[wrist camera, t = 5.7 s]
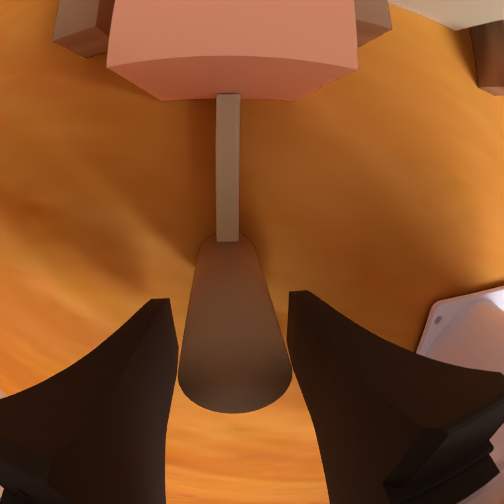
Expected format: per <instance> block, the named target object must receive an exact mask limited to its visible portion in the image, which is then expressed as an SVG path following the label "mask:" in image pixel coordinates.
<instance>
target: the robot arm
mask: <svg viewBox="0 0 504 504" xmlns="http://www.w3.org/2000/svg"><path fill="white" fill-rule="evenodd" d="M287 345H288V350H289V355H290V359H291V363H292V367H293V370H294V372H295V375H296V378H297V381H298V383H299V386H300V389H301V391H302V394H303V397H304V399H305V402H306V405H307V407H308V410H309V413H310V415H311V418H312V422H313V425H314V428H315V432H316V436H317V441H318V445H319V449H320V454H321V458H322V463H323V468H324V473H325V478H326V483H327V489H328V495H329V501H330V504H504V286H500V287H496V288H492V289H488V290H484V291H480V292H476V293H472V294H467V295H463V296H458V297H454V298H449V299H444V300H440V301H437V302H436V303H434V305H433V306H432V308H431V310H430V313H429V316H428V320H427V323H426V326H425V329H424V332H423V334H422V337H421V340H420V343H419V346H418V348H417V351H416V353H414V352H411V351H409V350H406V349H404V348H401V347H399V346H397V345H395V344H393V343H391V342H389V341H386V340H384V339H382V338H380V337H378V336H377V335H375V334H373V333H371V332H369V331H368V330H366V329H364V328H363V327H361V326H359V325H358V324H356V323H354V322H353V321H351V320H350V319H348V318H347V317H345V316H344V315H342V314H341V313H339V312H338V311H336V310H335V309H334V308H332V307H331V306H329V305H328V304H327V303H325V302H324V301H322V300H321V299H320V298H318V297H317V296H315V295H314V294H313V293H311V292H310V291H308V290H303V291H291V292H289V308H288V325H287ZM178 349H179V346H178V342H177V337H176V332H175V327H174V321H173V316H172V311H171V305H170V299H169V298H162V299H151V300H149V301H148V302H147V303H146V304H145V305H144V306H143V307H142V308H141V309H139V310H138V311H137V312H136V313H135V314H134V315H133V316H132V317H131V318H130V319H129V320H128V321H127V322H126V323H124V324H123V325H122V326H121V327H120V328H119V329H118V330H117V331H116V332H114V333H113V334H112V335H111V336H110V337H108V338H107V339H106V340H105V341H104V342H102V343H101V344H100V345H99V346H98V347H97V348H95V349H94V350H93V351H91V352H90V353H89V354H87V355H86V356H84V357H83V358H82V359H80V360H79V361H77V362H76V363H74V364H73V365H71V366H70V367H68V368H66V369H65V370H63V371H61V372H59V373H57V374H56V375H54V376H52V377H50V378H49V379H47V380H45V381H43V382H41V383H39V384H37V385H35V386H33V387H30V388H28V389H26V390H23V391H21V392H19V393H16V394H14V395H11V396H8V397H5V398H2V399H0V485H1V486H2V487H3V488H4V490H3V493H2V497H1V498H0V504H166V496H165V443H166V431H167V423H168V418H169V412H170V407H171V401H172V396H173V391H174V385H175V380H176V375H177V365H178Z"/></svg>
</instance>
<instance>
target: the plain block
mask: <svg viewBox="0 0 504 504" xmlns="http://www.w3.org/2000/svg"><path fill="white" fill-rule="evenodd" d="M387 1H388V3H389V4H392V5H395V6H398V7H400V8H403V9H406V10H409V11H411V12H414V13H416V14H419V15H421V16H424V17H426V18H428V19H431V20H433V21H435V22H437V23H439V24H442V25H444V26H446V27H448V28H450V29H452V30H454V31H458V30H461V29H465V28H469V27H472V26H476V25H480V24H485V23H489V22H494V21H498V20H503V19H504V0H387Z"/></svg>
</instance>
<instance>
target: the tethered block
mask: <svg viewBox="0 0 504 504" xmlns="http://www.w3.org/2000/svg"><path fill="white" fill-rule="evenodd" d="M106 68H108V69H110V70H112V71H113V72H115V73H117V74H118V75H120V76H122V77H123V78H125V79H127V80H128V81H130V82H131V83H133V84H135V85H136V86H138V87H139V88H141V89H143V90H144V91H146V92H147V93H149V94H151V95H152V96H154V97H155V98H157V99H158V100H160V101H171V100H187V99H216V233H215V234H213V235H211V236H210V237H208V238H207V239H206V240H205V241H204V242H203V244H202V245H201V247H200V249H199V252H198V257H197V262H196V267H195V272H194V278H193V283H192V288H191V294H190V300H189V305H188V311H187V317H186V323H185V330H184V336H183V342H182V349H181V356H180V362H179V370H178V381H179V385H180V387H181V389H182V391H183V392H184V394H185V395H186V396H187V397H188V398H189V399H190V400H191V401H193V402H194V403H196V404H197V405H199V406H201V407H203V408H206V409H208V410H211V411H215V412H220V413H246V412H251V411H255V410H258V409H261V408H263V407H266V406H268V405H270V404H271V403H273V402H275V401H276V400H277V399H279V398H280V397H281V396H282V395H283V394H284V393H285V391H286V390H287V388H288V387H289V385H290V382H291V379H292V366H291V363H290V360H289V357H288V353H287V350H286V347H285V343H284V340H283V337H282V334H281V330H280V327H279V324H278V321H277V317H276V314H275V311H274V307H273V304H272V301H271V298H270V294H269V291H268V288H267V285H266V281H265V278H264V275H263V272H262V268H261V265H260V262H259V259H258V255H257V252H256V249H255V247H254V245H253V244H252V242H251V241H250V240H249V239H248V238H247V237H245V236H244V235H242V234H240V233H239V147H240V99H269V100H285V101H296V100H298V99H300V98H301V97H303V96H305V95H307V94H309V93H311V92H313V91H315V90H317V89H319V88H321V87H323V86H325V85H327V84H329V83H331V82H333V81H335V80H337V79H339V78H341V77H343V76H346V75H348V74H350V73H352V72H354V71H356V70H358V49H357V31H356V18H355V7H354V0H115V4H114V10H113V16H112V22H111V29H110V36H109V44H108V53H107V63H106Z"/></svg>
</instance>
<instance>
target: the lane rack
mask: <svg viewBox="0 0 504 504" xmlns="http://www.w3.org/2000/svg"><path fill="white" fill-rule="evenodd" d="M114 4H115V0H60V2H59V6H58V11H57V16H56V22H55V28H54V34H53V42H55V43H57V44H59V45H61V46H63V47H65V48H67V49H69V50H71V51H73V52H75V53H77V54H79V55H81V56H83V57H85V58H86V57H90V56H94V55H97V54H101V53H105V52H108V44H109V36H110V29H111V22H112V16H113V10H114ZM354 7H355V18H356V31H357V48H359V47H360V46H362V45H364V44H366V43H367V42H369V41H371V40H373V39H375V38H376V37H378V36H380V35H382V34H384V33H386V32H388V31H390V30H391V29H392V25H391V19H390V12H389V7H388V1H387V0H354ZM470 32H471V37H472V42H473V48H474V54H475V61H476V69H477V78H478V88H480V89H483V90H485V91H487V92H489V93H491V94H493V95H494V96H504V19H503V20H498V21H494V22H489V23H485V24H480V25H476V26H472V27H470Z"/></svg>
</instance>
